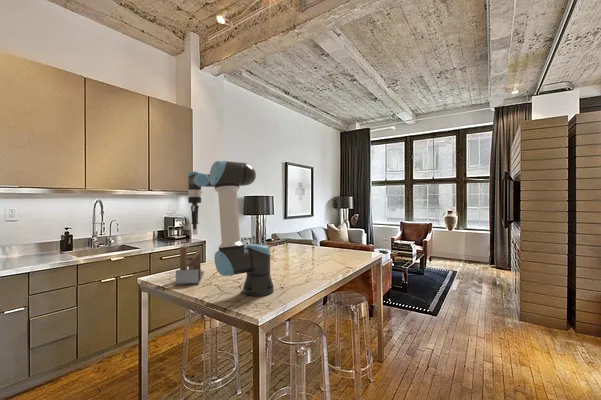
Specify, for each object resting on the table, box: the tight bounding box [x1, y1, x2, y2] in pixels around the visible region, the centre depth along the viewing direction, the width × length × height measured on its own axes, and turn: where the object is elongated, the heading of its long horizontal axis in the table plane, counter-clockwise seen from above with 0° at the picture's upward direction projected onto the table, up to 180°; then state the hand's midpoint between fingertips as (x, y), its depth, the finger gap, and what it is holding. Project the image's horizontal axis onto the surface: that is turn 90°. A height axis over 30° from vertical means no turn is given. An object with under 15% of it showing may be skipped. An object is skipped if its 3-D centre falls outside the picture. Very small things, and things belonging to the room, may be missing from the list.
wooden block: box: [179, 245, 202, 278], centre depth 157 cm, size 4×11×18 cm, turn 114°
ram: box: [187, 256, 195, 269], centre depth 162 cm, size 5×6×10 cm
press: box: [174, 268, 205, 287], centre depth 160 cm, size 24×12×8 cm, turn 12°
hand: (194, 234), depth 175 cm, fingers closed
